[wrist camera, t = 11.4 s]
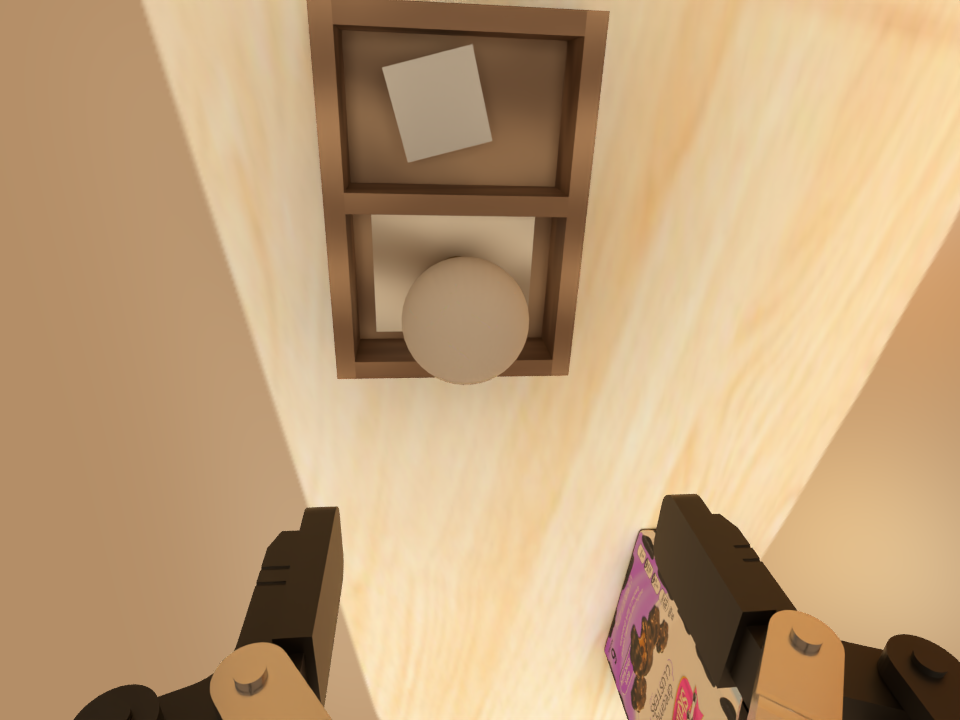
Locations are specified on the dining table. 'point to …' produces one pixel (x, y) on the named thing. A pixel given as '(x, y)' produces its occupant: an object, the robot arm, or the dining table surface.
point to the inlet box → (454, 169)
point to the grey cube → (438, 103)
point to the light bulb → (465, 320)
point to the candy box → (660, 651)
